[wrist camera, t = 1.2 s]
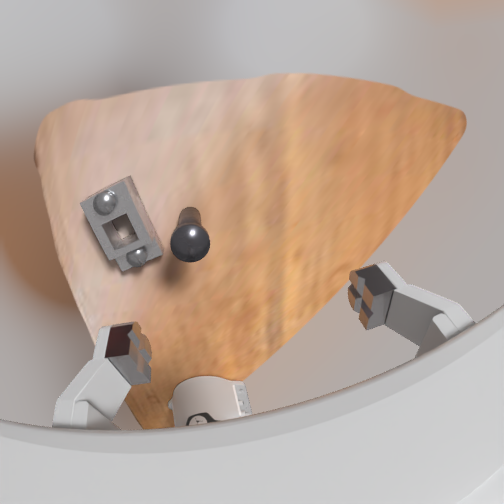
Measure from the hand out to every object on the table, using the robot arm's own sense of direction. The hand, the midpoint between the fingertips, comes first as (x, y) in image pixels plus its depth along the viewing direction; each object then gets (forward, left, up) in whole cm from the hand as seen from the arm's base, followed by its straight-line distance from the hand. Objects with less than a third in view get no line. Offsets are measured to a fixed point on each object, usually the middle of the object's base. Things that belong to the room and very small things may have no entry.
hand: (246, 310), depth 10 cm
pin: (-5, +4, -31) cm, 32 cm away
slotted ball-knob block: (-2, +13, -31) cm, 34 cm away
